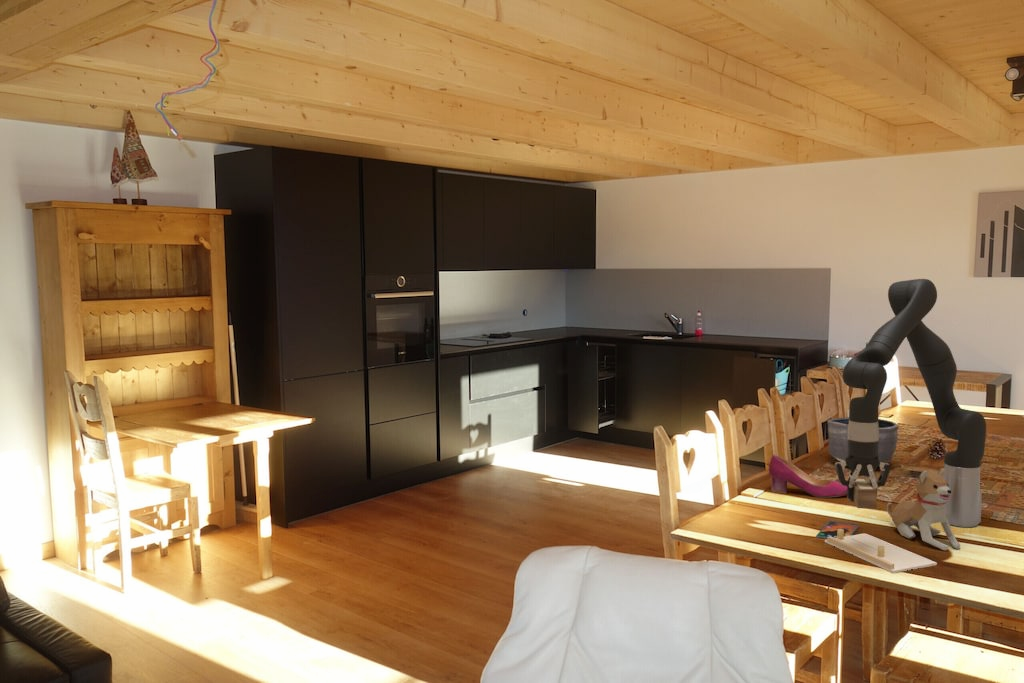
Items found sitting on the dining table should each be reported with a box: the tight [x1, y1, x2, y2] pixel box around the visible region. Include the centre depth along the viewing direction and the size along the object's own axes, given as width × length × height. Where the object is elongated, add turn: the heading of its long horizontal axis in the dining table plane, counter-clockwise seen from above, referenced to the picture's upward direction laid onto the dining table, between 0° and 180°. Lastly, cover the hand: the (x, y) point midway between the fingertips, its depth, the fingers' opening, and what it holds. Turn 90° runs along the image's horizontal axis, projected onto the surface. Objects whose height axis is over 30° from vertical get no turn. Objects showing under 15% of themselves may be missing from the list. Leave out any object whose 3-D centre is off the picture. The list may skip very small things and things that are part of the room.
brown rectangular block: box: [852, 478, 878, 510], centre depth 212 cm, size 11×4×5 cm, turn 170°
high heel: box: [768, 453, 847, 499], centre depth 265 cm, size 26×9×12 cm, turn 64°
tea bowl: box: [826, 416, 899, 463], centre depth 300 cm, size 25×22×17 cm
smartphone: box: [815, 520, 859, 540], centre depth 228 cm, size 8×1×15 cm
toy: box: [886, 467, 961, 551], centre depth 222 cm, size 10×24×20 cm, turn 16°
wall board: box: [824, 529, 938, 574], centre depth 211 cm, size 14×24×3 cm, turn 20°
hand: (861, 500), depth 213 cm, fingers closed on brown rectangular block, 4 cm apart
